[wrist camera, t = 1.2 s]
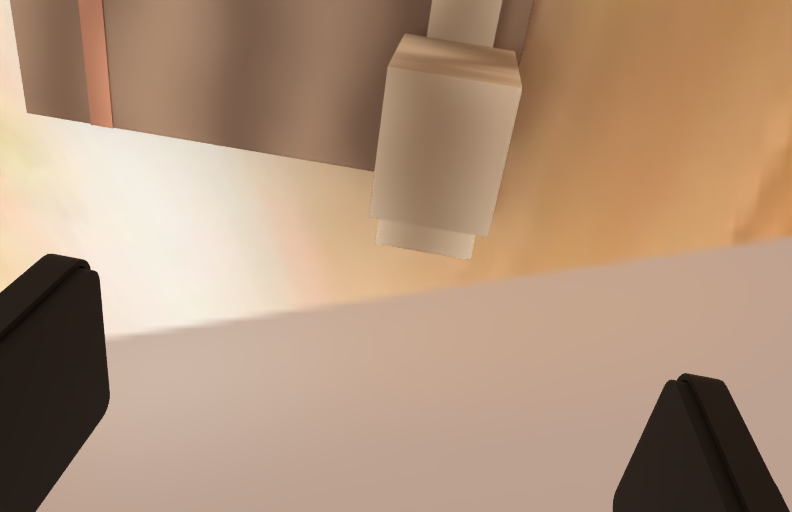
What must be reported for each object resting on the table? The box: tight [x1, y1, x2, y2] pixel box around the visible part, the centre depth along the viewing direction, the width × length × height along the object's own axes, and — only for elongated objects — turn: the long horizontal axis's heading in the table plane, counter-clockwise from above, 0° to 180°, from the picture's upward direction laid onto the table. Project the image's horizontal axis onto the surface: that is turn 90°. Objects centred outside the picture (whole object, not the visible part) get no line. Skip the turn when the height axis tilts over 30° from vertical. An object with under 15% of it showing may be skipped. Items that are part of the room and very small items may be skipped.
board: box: [10, 0, 534, 171], centre depth 28 cm, size 21×10×2 cm, turn 82°
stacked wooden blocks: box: [369, 0, 523, 260], centre depth 25 cm, size 4×11×9 cm, turn 172°
